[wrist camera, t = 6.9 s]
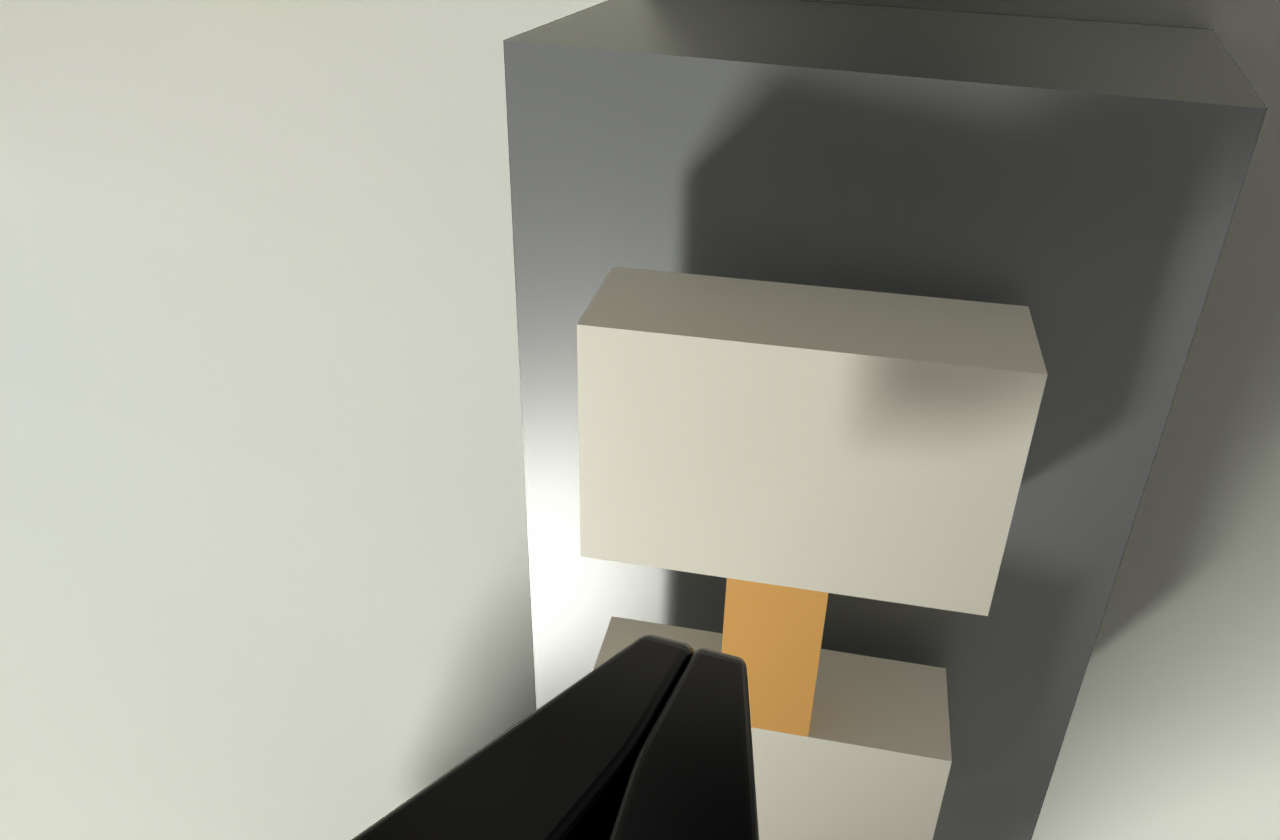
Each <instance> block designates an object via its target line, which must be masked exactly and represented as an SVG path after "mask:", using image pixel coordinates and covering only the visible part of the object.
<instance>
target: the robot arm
mask: <svg viewBox="0 0 1280 840" xmlns="http://www.w3.org/2000/svg"><path fill="white" fill-rule="evenodd" d="M352 840H759V829H758V815H757V802H756V788H755V774H754V760H753V746H752V732H751V719H750V705H749V691H748V677H747V667H746V663H745V661H744V660H743V659H742V658H740V657H737V656H733V655H730V654H726V653H722V652H718V651H714V650H710V649H707V648H700V649H698V650H696V651H695V652H694V649H693V648H692V647H691V646H690V645H689V644H687V643H684V642H680V641H676V640H672V639H668V638H664V637H660V636H657V635H651V634H650V635H645V636H642V637H640V638H638V639H637V640H636V641H634V642H633V643H631V644H630V645H628V646H627V647H626V648H624V649H623V650H621V651H620V652H618V653H617V654H616V655H614V656H613V657H611V658H610V659H608V660H607V661H606V662H604V663H603V664H601V665H600V666H598V667H597V668H596V669H594V670H593V671H591V672H590V673H589V674H587V675H586V676H584V677H583V678H581V679H580V680H579V681H577V682H576V683H574V684H573V685H571V686H570V687H569V688H567V689H566V690H564V691H563V692H561V693H560V694H559V695H557V696H556V697H554V698H553V699H551V700H550V701H549V702H547V703H546V704H544V705H543V706H541V707H540V708H539V709H537V710H536V711H534V712H533V713H531V714H530V715H529V716H527V717H526V718H524V719H523V720H522V721H520V722H519V723H517V724H516V725H514V726H513V727H512V728H510V729H509V730H507V731H506V732H504V733H503V734H502V735H500V736H499V737H497V738H496V739H494V740H493V741H492V742H490V743H489V744H487V745H486V746H484V747H483V748H482V749H480V750H479V751H477V752H476V753H474V754H473V755H472V756H470V757H469V758H467V759H466V760H464V761H463V762H462V763H460V764H459V765H457V766H456V767H455V768H453V769H452V770H450V771H449V772H447V773H446V774H445V775H443V776H442V777H440V778H439V779H437V780H436V781H435V782H433V783H432V784H430V785H429V786H427V787H426V788H425V789H423V790H422V791H420V792H419V793H417V794H416V795H415V796H413V797H412V798H410V799H409V800H407V801H406V802H405V803H403V804H402V805H400V806H399V807H398V808H396V809H395V810H393V811H392V812H390V813H389V814H388V815H386V816H385V817H383V818H382V819H380V820H379V821H378V822H376V823H375V824H373V825H372V826H370V827H369V828H368V829H366V830H365V831H363V832H362V833H360V834H359V835H358V836H356V837H355V838H353V839H352Z"/></svg>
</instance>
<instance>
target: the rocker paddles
mask: <svg viewBox="0 0 1280 840" xmlns="http://www.w3.org/2000/svg"><path fill="white" fill-rule="evenodd" d="M577 371H578V431H579V490H580V550H581V557H587V558H594V559H601V560H608V561H615V562H622V563H628V564H635V565H642V566H649V567H656V568H663V569H669V570H676V571H683V572H690V573H697V574H703V575H710V576H717V577H724V578H727V583H726V597H725V610H724V623H723V633H716V632H710V631H703V630H697V629H691V628H684V627H678V626H671V625H665V624H658V623H652V622H646V621H639V620H633V619H626V618H620V617H614V616H612V617H611V620H610V623H609V626H608V629H607V632H606V634H605V637H604V640H603V643H602V646H601V649H600V652H599V654H598V657H597V660H596V663H595V666H594V669H596V668H597V667H598V666H600V665H601V664H603V663H604V662H606V661H607V660H608V659H610V658H611V657H613V656H614V655H616V654H617V653H618V652H620V651H621V650H623V649H624V648H626V647H627V646H628V645H630V644H631V643H633V642H634V641H636V640H637V639H638V638H640V637H642V636H645V635H650V634H651V635H657V636H660V637H664V638H668V639H672V640H676V641H680V642H684V643H687V644H689V645H690V646H691V647H692V648H693V649H694V652H695V651H696V650H698V649H700V648H707V649H710V650H714V651H718V652H722V653H726V654H730V655H733V656H737V657H740V658H742V659H743V660H744V661H745V663H746V667H747V677H748V691H749V705H750V719H751V732H752V746H753V760H754V774H755V788H756V802H757V815H758V829H759V840H933V836H934V832H935V828H936V824H937V820H938V815H939V811H940V807H941V803H942V799H943V795H944V791H945V787H946V783H947V779H948V775H949V771H950V767H951V763H952V756H951V740H950V725H949V709H948V694H947V678H946V668H941V667H934V666H928V665H921V664H915V663H909V662H902V661H896V660H889V659H883V658H876V657H870V656H864V655H857V654H851V653H844V652H838V651H832V650H825V649H821V643H822V636H823V629H824V622H825V615H826V608H827V601H828V594H829V593H833V594H840V595H847V596H854V597H860V598H867V599H874V600H881V601H888V602H895V603H901V604H908V605H915V606H922V607H929V608H936V609H942V610H949V611H956V612H963V613H970V614H977V615H983V616H988V613H989V609H990V605H991V601H992V597H993V593H994V589H995V585H996V581H997V577H998V573H999V569H1000V565H1001V561H1002V557H1003V553H1004V549H1005V545H1006V541H1007V537H1008V533H1009V529H1010V525H1011V521H1012V517H1013V513H1014V508H1015V504H1016V500H1017V496H1018V492H1019V488H1020V484H1021V480H1022V476H1023V472H1024V468H1025V464H1026V460H1027V456H1028V452H1029V448H1030V444H1031V440H1032V436H1033V432H1034V428H1035V424H1036V420H1037V416H1038V412H1039V407H1040V403H1041V399H1042V395H1043V391H1044V387H1045V383H1046V379H1047V375H1048V374H1047V371H1046V367H1045V364H1044V360H1043V356H1042V353H1041V349H1040V346H1039V342H1038V339H1037V335H1036V332H1035V328H1034V324H1033V321H1032V317H1031V314H1030V310H1029V307H1028V306H1020V305H1009V304H999V303H988V302H978V301H968V300H957V299H947V298H936V297H926V296H915V295H905V294H895V293H884V292H874V291H863V290H853V289H843V288H832V287H822V286H811V285H801V284H791V283H780V282H770V281H759V280H749V279H738V278H728V277H718V276H707V275H697V274H686V273H676V272H666V271H655V270H645V269H634V268H624V267H612V269H611V270H610V272H609V273H608V275H607V277H606V278H605V280H604V282H603V283H602V285H601V286H600V288H599V290H598V291H597V293H596V294H595V296H594V298H593V299H592V301H591V302H590V304H589V306H588V307H587V309H586V310H585V312H584V314H583V315H582V317H581V318H580V320H579V322H578V323H577ZM594 669H593V670H594Z"/></svg>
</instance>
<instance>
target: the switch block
mask: <svg viewBox="0 0 1280 840" xmlns="http://www.w3.org/2000/svg"><path fill="white" fill-rule="evenodd" d="M503 41H504V62H505V82H506V102H507V123H508V143H509V163H510V184H511V204H512V224H513V245H514V265H515V285H516V306H517V326H518V346H519V367H520V387H521V407H522V428H523V448H524V468H525V489H526V509H527V529H528V549H529V570H530V590H531V610H532V631H533V651H534V671H535V692H536V710H537V709H539V708H540V707H541V706H543V705H544V704H546V703H547V702H549V701H550V700H551V699H553V698H554V697H556V696H557V695H559V694H560V693H561V692H563V691H564V690H566V689H567V688H569V687H570V686H571V685H573V684H574V683H576V682H577V681H579V680H580V679H581V678H583V677H584V676H586V675H587V674H589V673H590V672H591V671H593V669H594V666H595V663H596V660H597V657H598V654H599V652H600V649H601V646H602V643H603V640H604V637H605V634H606V632H607V629H608V626H609V623H610V620H611V617H612V616H614V617H620V618H626V619H633V620H639V621H646V622H652V623H658V624H665V625H671V626H678V627H684V628H691V629H697V630H703V631H710V632H716V633H723V623H724V610H725V597H726V583H727V578H724V577H717V576H710V575H703V574H697V573H690V572H683V571H676V570H669V569H663V568H656V567H649V566H642V565H635V564H628V563H622V562H615V561H608V560H601V559H594V558H587V557H581V550H580V490H579V431H578V371H577V323H578V322H579V320H580V318H581V317H582V315H583V314H584V312H585V310H586V309H587V307H588V306H589V304H590V302H591V301H592V299H593V298H594V296H595V294H596V293H597V291H598V290H599V288H600V286H601V285H602V283H603V282H604V280H605V278H606V277H607V275H608V273H609V272H610V270H611V269H612V267H624V268H634V269H645V270H655V271H666V272H676V273H686V274H697V275H707V276H718V277H728V278H738V279H749V280H759V281H770V282H780V283H791V284H801V285H811V286H822V287H832V288H843V289H853V290H863V291H874V292H884V293H895V294H905V295H915V296H926V297H936V298H947V299H957V300H968V301H978V302H988V303H999V304H1009V305H1020V306H1028V307H1029V310H1030V314H1031V317H1032V321H1033V324H1034V328H1035V332H1036V335H1037V339H1038V342H1039V346H1040V349H1041V353H1042V356H1043V360H1044V364H1045V367H1046V371H1047V374H1048V375H1047V379H1046V383H1045V387H1044V391H1043V395H1042V399H1041V403H1040V407H1039V412H1038V416H1037V420H1036V424H1035V428H1034V432H1033V436H1032V440H1031V444H1030V448H1029V452H1028V456H1027V460H1026V464H1025V468H1024V472H1023V476H1022V480H1021V484H1020V488H1019V492H1018V496H1017V500H1016V504H1015V508H1014V513H1013V517H1012V521H1011V525H1010V529H1009V533H1008V537H1007V541H1006V545H1005V549H1004V553H1003V557H1002V561H1001V565H1000V569H999V573H998V577H997V581H996V585H995V589H994V593H993V597H992V601H991V605H990V609H989V613H988V616H983V615H977V614H970V613H963V612H956V611H949V610H942V609H936V608H929V607H922V606H915V605H908V604H901V603H895V602H888V601H881V600H874V599H867V598H860V597H854V596H847V595H840V594H833V593H829V594H828V601H827V608H826V615H825V622H824V629H823V636H822V643H821V649H825V650H832V651H838V652H844V653H851V654H857V655H864V656H870V657H876V658H883V659H889V660H896V661H902V662H909V663H915V664H921V665H928V666H934V667H941V668H946V678H947V694H948V709H949V725H950V740H951V756H952V763H951V767H950V771H949V775H948V779H947V783H946V787H945V791H944V795H943V799H942V803H941V807H940V811H939V815H938V820H937V824H936V828H935V832H934V836H933V840H1031V838H1032V835H1033V832H1034V829H1035V826H1036V823H1037V820H1038V817H1039V814H1040V811H1041V807H1042V804H1043V801H1044V798H1045V795H1046V792H1047V789H1048V786H1049V783H1050V780H1051V776H1052V773H1053V770H1054V767H1055V764H1056V761H1057V758H1058V755H1059V752H1060V749H1061V745H1062V742H1063V739H1064V736H1065V733H1066V730H1067V727H1068V724H1069V721H1070V718H1071V714H1072V711H1073V708H1074V705H1075V702H1076V699H1077V696H1078V693H1079V690H1080V687H1081V683H1082V680H1083V677H1084V674H1085V671H1086V668H1087V665H1088V662H1089V659H1090V656H1091V652H1092V649H1093V646H1094V643H1095V640H1096V637H1097V634H1098V631H1099V628H1100V625H1101V621H1102V618H1103V615H1104V612H1105V609H1106V606H1107V603H1108V600H1109V597H1110V594H1111V590H1112V587H1113V584H1114V581H1115V578H1116V575H1117V572H1118V569H1119V566H1120V563H1121V559H1122V556H1123V553H1124V550H1125V547H1126V544H1127V541H1128V538H1129V535H1130V532H1131V528H1132V525H1133V522H1134V519H1135V516H1136V513H1137V510H1138V507H1139V504H1140V501H1141V497H1142V494H1143V491H1144V488H1145V485H1146V482H1147V479H1148V476H1149V473H1150V470H1151V466H1152V463H1153V460H1154V457H1155V454H1156V451H1157V448H1158V445H1159V442H1160V439H1161V435H1162V432H1163V429H1164V426H1165V423H1166V420H1167V417H1168V414H1169V411H1170V408H1171V404H1172V401H1173V398H1174V395H1175V392H1176V389H1177V386H1178V383H1179V380H1180V377H1181V373H1182V370H1183V367H1184V364H1185V361H1186V358H1187V355H1188V352H1189V349H1190V346H1191V342H1192V339H1193V336H1194V333H1195V330H1196V327H1197V324H1198V321H1199V318H1200V315H1201V311H1202V308H1203V305H1204V302H1205V299H1206V296H1207V293H1208V290H1209V287H1210V284H1211V280H1212V277H1213V274H1214V271H1215V268H1216V265H1217V262H1218V259H1219V256H1220V253H1221V249H1222V246H1223V243H1224V240H1225V237H1226V234H1227V231H1228V228H1229V225H1230V222H1231V218H1232V215H1233V212H1234V209H1235V206H1236V203H1237V200H1238V197H1239V194H1240V191H1241V187H1242V184H1243V181H1244V178H1245V175H1246V172H1247V169H1248V166H1249V163H1250V160H1251V156H1252V153H1253V150H1254V147H1255V144H1256V141H1257V138H1258V135H1259V132H1260V129H1261V125H1262V122H1263V119H1264V116H1265V113H1266V110H1267V108H1266V107H1265V105H1264V104H1263V102H1262V101H1261V99H1260V98H1259V96H1258V95H1257V93H1256V92H1255V91H1254V89H1253V88H1252V86H1251V85H1250V83H1249V82H1248V80H1247V79H1246V78H1245V76H1244V75H1243V73H1242V72H1241V70H1240V69H1239V67H1238V66H1237V65H1236V63H1235V62H1234V60H1233V59H1232V57H1231V56H1230V54H1229V53H1228V51H1227V50H1226V49H1225V47H1224V46H1223V44H1222V43H1221V41H1220V40H1219V38H1218V37H1217V36H1216V34H1215V33H1214V31H1213V30H1211V29H1197V28H1183V27H1169V26H1155V25H1140V24H1126V23H1112V22H1098V21H1084V20H1070V19H1055V18H1041V17H1027V16H1013V15H999V14H984V13H970V12H956V11H942V10H928V9H913V8H899V7H885V6H871V5H857V4H843V3H828V2H814V1H800V0H608V1H605V2H603V3H600V4H597V5H595V6H592V7H590V8H587V9H584V10H582V11H579V12H576V13H574V14H571V15H569V16H566V17H563V18H561V19H558V20H555V21H553V22H550V23H548V24H545V25H542V26H540V27H537V28H535V29H532V30H529V31H527V32H524V33H521V34H519V35H516V36H514V37H511V38H508V39H506V40H503Z"/></svg>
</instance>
